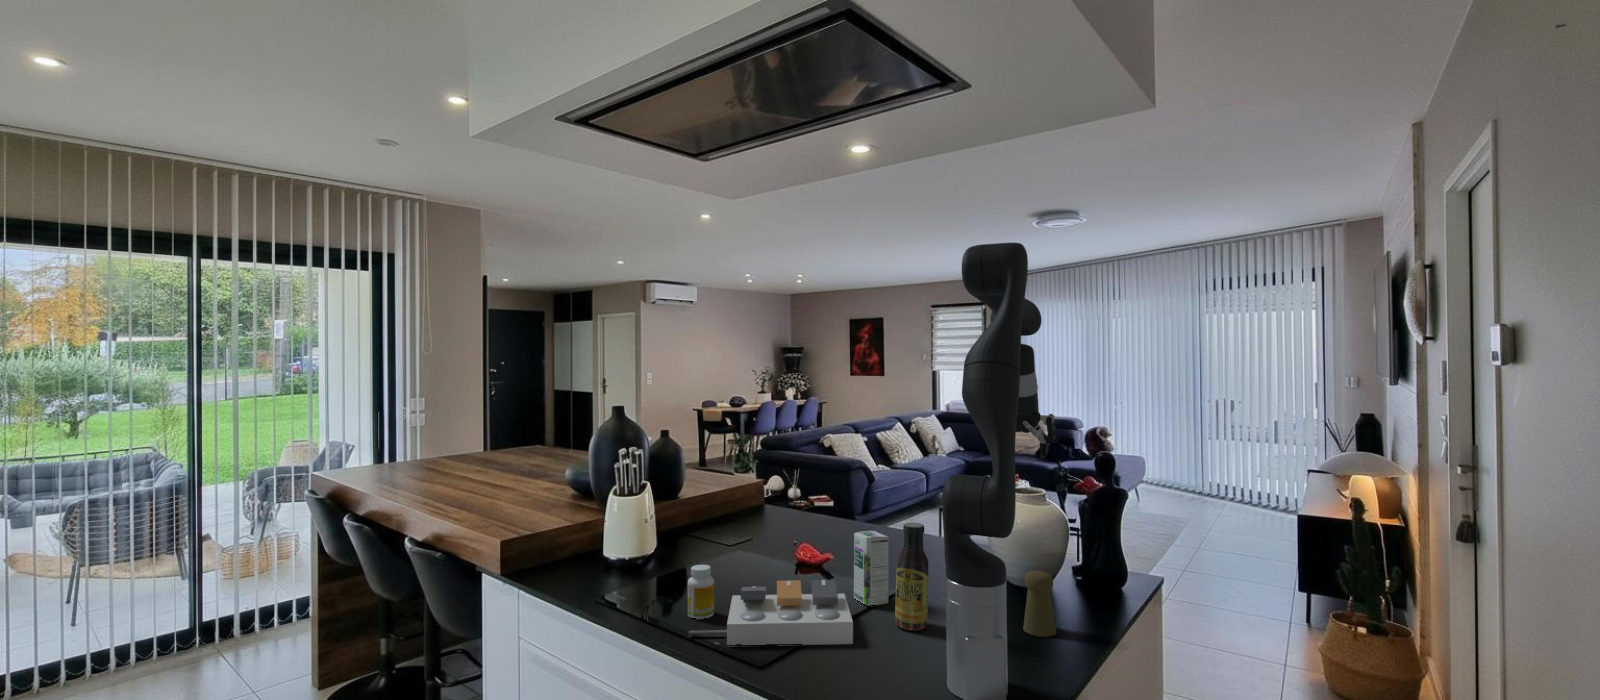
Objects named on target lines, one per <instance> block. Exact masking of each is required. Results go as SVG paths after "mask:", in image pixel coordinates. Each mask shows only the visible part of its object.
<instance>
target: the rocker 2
mask: <svg viewBox="0 0 1600 700" xmlns="http://www.w3.org/2000/svg"><path fill="white" fill-rule="evenodd" d="M802 594H803V593H802V583H801V579H800V580H799V579H797V580H795V579H794V580H793V579H792V580H776V595H777V606H799V605H802Z"/></svg>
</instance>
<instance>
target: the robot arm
mask: <svg viewBox="0 0 1600 700" xmlns="http://www.w3.org/2000/svg"><path fill="white" fill-rule="evenodd" d="M1028 259H1029V258H1028V252H1027V249H1026V247H1025V246H1024V245H1023V244H1022V243H1020V242H998V243H987V244H986V243H984V244H983V243H982V244H976V245H973V246H969V247H968V248H967V249H966V250H965V251H964V253H963V255H962V259H961V278H962V282H963V283H962V284H963V286H964V288H965V289H966V291H967V292H968V293H969V294H970V295H971V296H972V297H974V298H975V299H977V300H978V301H979V302H981V303H983V304H984V305H986V307H988V308H989V309H990V311H991V313H990V323H989V325H988V326H987V327H986V329H985V330H984V331H983V332H982V333H981V335H979V337H977V338H978V339H976V341H975V342H974V343H973V344H972V345H971V348H970V349H969V350H968V352H967V353H966V357H965V358H964V359H965V360H964V362H963V371H962V372H963V374H962V384H961V386H962V387H961V397H962V401H963V403H964V406H965V408H966V410H967V411H968V413H969V416H970V417H971V420H972V421H973V423H974V424H975V426H976V427H977V429H978V430H979V433H981V436H982V438H983V440H984V442H985V445H986V447H987V448H988V449H987V450H988V453H989V454H990V458H991V465H992V476H984V475H968V474H951V475H949V476H948V477H947V479H946V480H945V481H944V484H943V486H942V487H943V488H942V493H941V496H942V497H941V512H942V513H941V515H942V524H943V525H942V528H943V542H944V543H943V545H944V546H943V547H944V548H943V549H944V550H943V551H944V552H943V553H944V562H945V614H946V615H945V620H946V622H945V625H946V627H945V628H946V629H945V632H946V634H945V635H946V636H945V637H946V686H947V689H948V691H949V692H950V693H952V694H953V695H955V696H956V697H958V698H960V699H961V700H962V699H963V700H1007V696H1008V692H1009V690H1008V689H1009V688H1008V687H1009V685H1008V684H1009V679H1008V676H1009V675H1008V674H1009V673H1008V672H1009V671H1008V631H1007V630H1008V627H1007V626H1008V622H1007V619H1008V618H1007V611H1008V610H1007V567H1006V564H1005V561H1003V560H1002V558H1000V557H999V556H997V555H995V554H993V553H991V552H989V551H988V550H986V549H984V548H982V547H981V546H980V545H978V544H977V543H976V542H975V541H974V540H973V539H972V537H971V536H979V537H980V536H981V537H987V538H997V539H998V538H999V539H1007V538H1008V537H1010V536H1011V534H1012V532H1013V530H1014V526H1015V519H1016V506H1017V505H1016V502H1017V501H1016V496H1017V495H1016V494H1017V493H1016V489H1017V488H1016V486H1017V485H1016V436H1017V435H1016V433H1025V434H1029V433H1030V434H1032V436H1033V437H1034V438H1036V439H1037V440H1038V441H1039V442H1040V443H1039V457H1040V459H1045V457H1047V455H1048V454H1049V443H1054V441H1055V439H1056V438H1057V430H1056V423H1055V415H1054V414H1053V413H1049V414H1047V415H1045V414H1042V415H1041V414H1040V412H1039V410H1040V409H1039V407H1040V406H1039V393H1038V390H1039V385H1038V378H1037V373H1036V365H1035V363H1036V362H1035V360H1036V359H1035V351H1034V348H1033V347H1032V346H1031V345H1029V344H1025V343H1022V337H1023V336H1024V337H1027V336H1033V335H1035V334H1037V333H1038V331H1039V330H1040V329H1041V327H1042V314H1041V311H1040V310H1039V307H1038V306H1037V305H1036V304H1035V302H1033V301H1031V300H1029V299H1027V298H1026V291H1027V283H1028V271H1029V270H1028V268H1029V261H1028ZM1040 422H1043V425H1045V426H1046V432H1047V434H1046V432H1045V431H1044V430H1043V427H1041V426H1040V424H1039V423H1040ZM970 535H971V536H970Z"/></svg>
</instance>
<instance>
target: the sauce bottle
mask: <svg viewBox="0 0 1600 700" xmlns="http://www.w3.org/2000/svg"><path fill="white" fill-rule="evenodd" d="M902 531H903V532H904V533H903V544H902V545H903V546H902V548H901V550H900V552H899V554H898V557H897V563H896V564H897V565H896V579H895V582H896V583H895V610H894V611H895V612H894V614H895V615H894V616H895V624H896V626H897V627H899V628H900V629H901V630H905V631H912V632H913V631H915V632H920V631H922V630H924V629H925V628H927V623H928V618H929V617H928V616H929V615H928V613H929V609H928V608H929V579H930V577H929V576H930V575H929V559H928V557H927V555H926V553H925V551H924V533H925V525H924V524H923V523H921V522H914V521H913V522H912V521H909V522H904V523H903V527H902Z"/></svg>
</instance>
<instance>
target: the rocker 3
mask: <svg viewBox="0 0 1600 700" xmlns="http://www.w3.org/2000/svg"><path fill="white" fill-rule="evenodd" d="M810 583H811V585H810V588H811V594H812V599H813V605H838V595H837V594H838V589H837V583H836V579H812V580H811V581H810Z"/></svg>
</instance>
